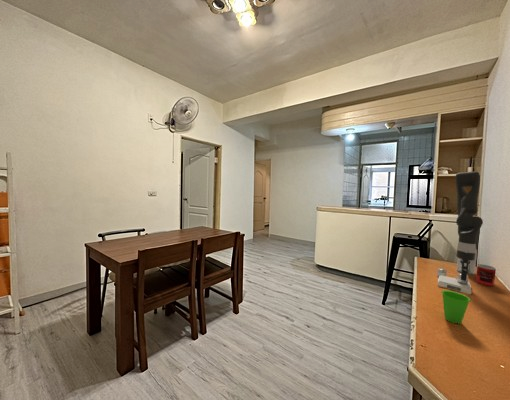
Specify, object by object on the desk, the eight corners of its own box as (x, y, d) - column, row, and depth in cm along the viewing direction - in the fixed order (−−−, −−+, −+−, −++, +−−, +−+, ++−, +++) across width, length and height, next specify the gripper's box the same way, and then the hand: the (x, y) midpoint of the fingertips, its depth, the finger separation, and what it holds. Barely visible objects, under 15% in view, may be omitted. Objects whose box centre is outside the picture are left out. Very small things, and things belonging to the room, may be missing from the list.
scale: (438, 279, 138) (439, 274, 137) (469, 286, 128) (470, 281, 128) (437, 285, 127) (437, 280, 127) (471, 294, 117) (471, 289, 117)
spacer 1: (437, 275, 145) (437, 267, 144) (445, 277, 142) (446, 269, 142) (436, 276, 142) (437, 269, 141) (445, 278, 139) (446, 271, 138)
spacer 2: (456, 280, 128) (457, 272, 128) (467, 283, 126) (468, 274, 125) (457, 283, 125) (458, 274, 125) (467, 285, 122) (468, 276, 122)
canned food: (485, 281, 137) (487, 264, 137) (498, 287, 129) (500, 269, 129) (472, 280, 138) (473, 263, 137) (483, 286, 130) (485, 268, 129)
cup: (460, 317, 95) (462, 292, 94) (473, 329, 86) (476, 302, 85) (435, 312, 97) (437, 288, 97) (445, 324, 89) (447, 298, 88)
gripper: (457, 246, 132) (454, 272, 133) (457, 251, 121) (454, 279, 122) (474, 249, 127) (471, 276, 128) (476, 254, 116) (473, 284, 117)
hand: (463, 278), depth 125 cm, fingers open, 8 cm apart
